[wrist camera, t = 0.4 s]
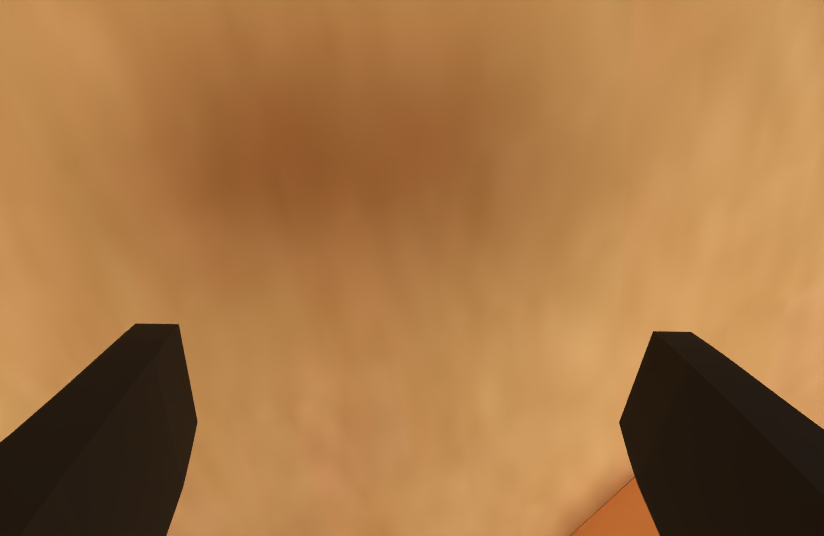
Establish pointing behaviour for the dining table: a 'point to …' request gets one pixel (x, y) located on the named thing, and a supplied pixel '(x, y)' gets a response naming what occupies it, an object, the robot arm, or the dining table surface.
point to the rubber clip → (621, 516)
